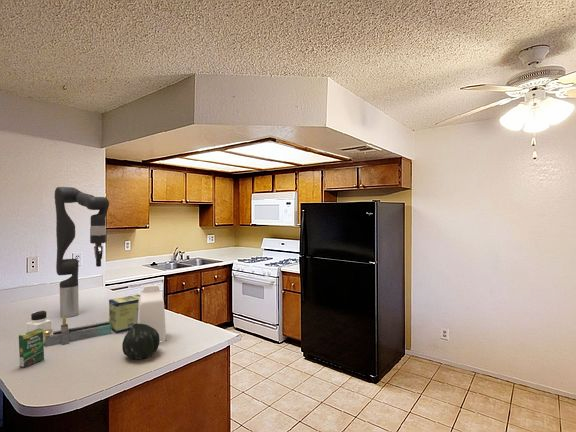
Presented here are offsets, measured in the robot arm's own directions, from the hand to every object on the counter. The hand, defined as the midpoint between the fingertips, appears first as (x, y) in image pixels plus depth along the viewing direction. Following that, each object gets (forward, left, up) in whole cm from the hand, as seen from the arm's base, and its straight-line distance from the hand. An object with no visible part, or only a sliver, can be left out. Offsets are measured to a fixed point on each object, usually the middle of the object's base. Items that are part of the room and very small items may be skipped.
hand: (98, 266), depth 180 cm
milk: (+36, +18, -32) cm, 52 cm away
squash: (+52, +10, -32) cm, 62 cm away
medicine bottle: (-1, -26, -32) cm, 41 cm away
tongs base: (+13, -11, -32) cm, 36 cm away
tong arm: (+11, -9, -32) cm, 35 cm away
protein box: (+12, +12, -32) cm, 36 cm away
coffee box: (+34, -28, -32) cm, 55 cm away
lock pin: (+9, -16, -31) cm, 36 cm away
